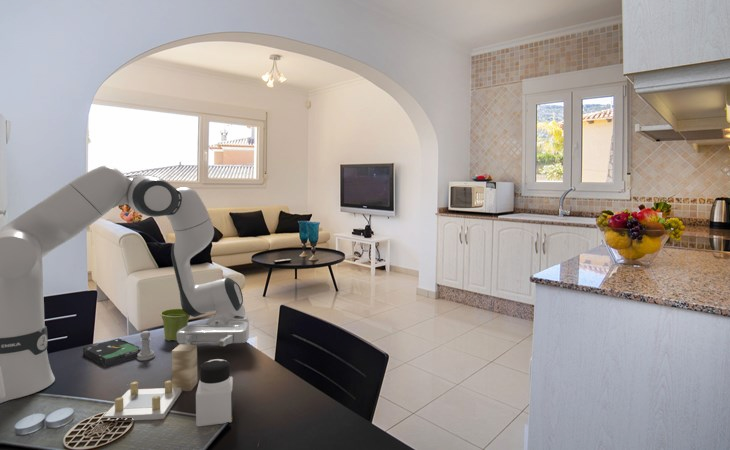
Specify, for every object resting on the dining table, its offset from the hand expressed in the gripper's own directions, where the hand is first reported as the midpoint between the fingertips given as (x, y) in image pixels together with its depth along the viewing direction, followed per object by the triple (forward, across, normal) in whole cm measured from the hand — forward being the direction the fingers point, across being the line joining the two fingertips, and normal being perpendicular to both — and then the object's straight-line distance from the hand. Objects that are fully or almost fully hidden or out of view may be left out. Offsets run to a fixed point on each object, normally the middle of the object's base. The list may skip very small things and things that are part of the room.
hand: (204, 344), depth 115 cm
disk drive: (-8, -30, +7) cm, 32 cm away
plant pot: (-22, -18, +6) cm, 29 cm away
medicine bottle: (+26, +12, +6) cm, 29 cm away
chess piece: (-6, -19, +6) cm, 21 cm away
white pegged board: (+22, -6, +6) cm, 23 cm away
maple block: (+12, -1, +6) cm, 14 cm away
